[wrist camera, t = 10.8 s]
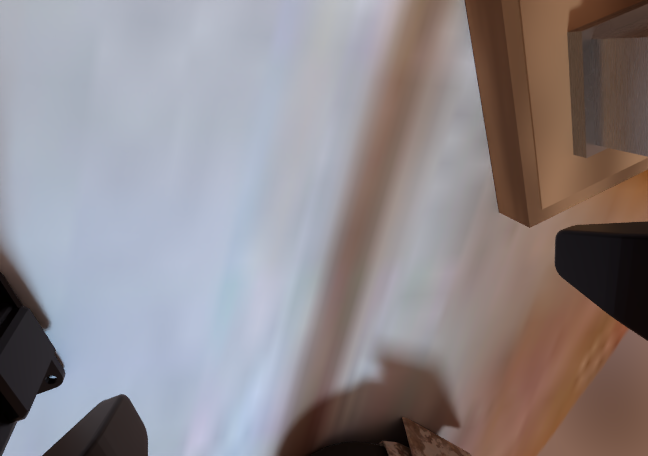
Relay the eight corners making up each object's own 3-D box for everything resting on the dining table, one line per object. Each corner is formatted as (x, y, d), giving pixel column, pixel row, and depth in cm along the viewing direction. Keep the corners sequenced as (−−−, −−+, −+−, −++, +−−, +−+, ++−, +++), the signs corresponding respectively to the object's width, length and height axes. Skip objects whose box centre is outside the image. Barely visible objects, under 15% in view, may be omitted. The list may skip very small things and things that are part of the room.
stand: (499, 212, 25) (531, 228, 23) (463, -9, 20) (500, -17, 17) (661, 133, 27) (707, 140, 24) (670, -92, 21) (729, -110, 19)
